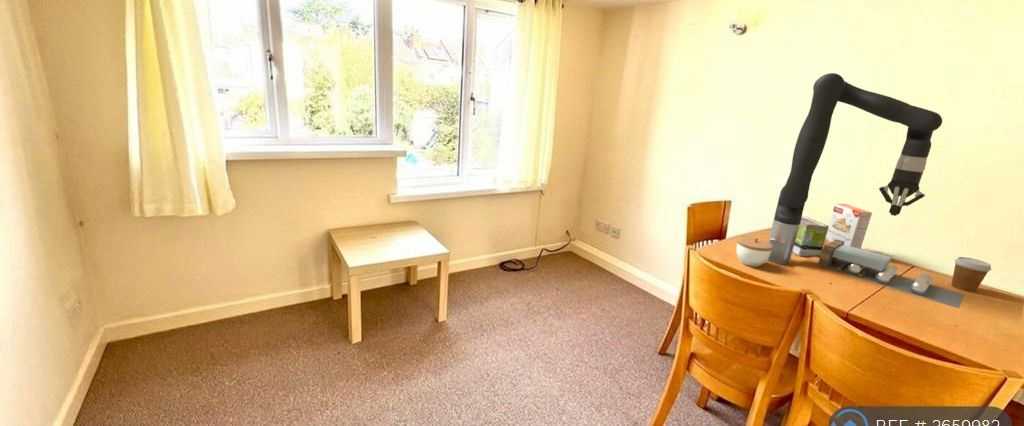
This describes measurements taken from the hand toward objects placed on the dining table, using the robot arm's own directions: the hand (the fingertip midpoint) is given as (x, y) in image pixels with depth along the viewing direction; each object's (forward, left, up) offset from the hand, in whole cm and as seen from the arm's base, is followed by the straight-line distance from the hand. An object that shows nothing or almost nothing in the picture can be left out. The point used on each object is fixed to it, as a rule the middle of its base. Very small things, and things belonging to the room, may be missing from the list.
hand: (893, 215), depth 155 cm
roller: (+6, +7, -26) cm, 27 cm away
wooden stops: (+6, +10, -27) cm, 29 cm away
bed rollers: (+6, -8, -26) cm, 28 cm away
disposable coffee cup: (+23, -23, -27) cm, 42 cm away
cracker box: (+32, +18, -27) cm, 46 cm away
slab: (+6, +6, -22) cm, 23 cm away
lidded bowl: (-24, +35, -27) cm, 50 cm away
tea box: (+13, +29, -27) cm, 42 cm away
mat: (+6, -5, -27) cm, 28 cm away
